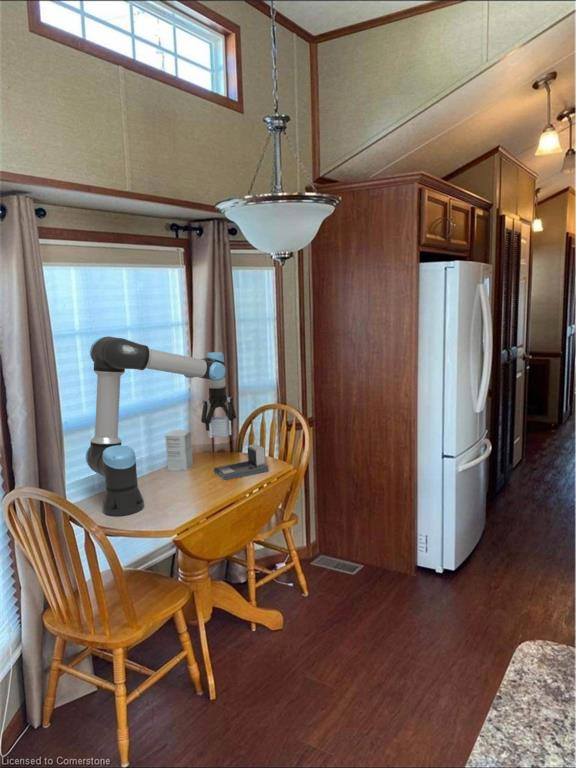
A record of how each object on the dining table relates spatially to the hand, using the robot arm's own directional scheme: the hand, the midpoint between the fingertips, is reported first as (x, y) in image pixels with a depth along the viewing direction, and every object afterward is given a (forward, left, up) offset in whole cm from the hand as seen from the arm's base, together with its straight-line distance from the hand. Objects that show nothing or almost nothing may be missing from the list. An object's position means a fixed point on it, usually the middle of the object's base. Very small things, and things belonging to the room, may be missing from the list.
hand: (219, 435), depth 257 cm
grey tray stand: (+5, -11, -15) cm, 19 cm away
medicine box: (0, 0, 0) cm, 0 cm away
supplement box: (-16, +12, -15) cm, 25 cm away
